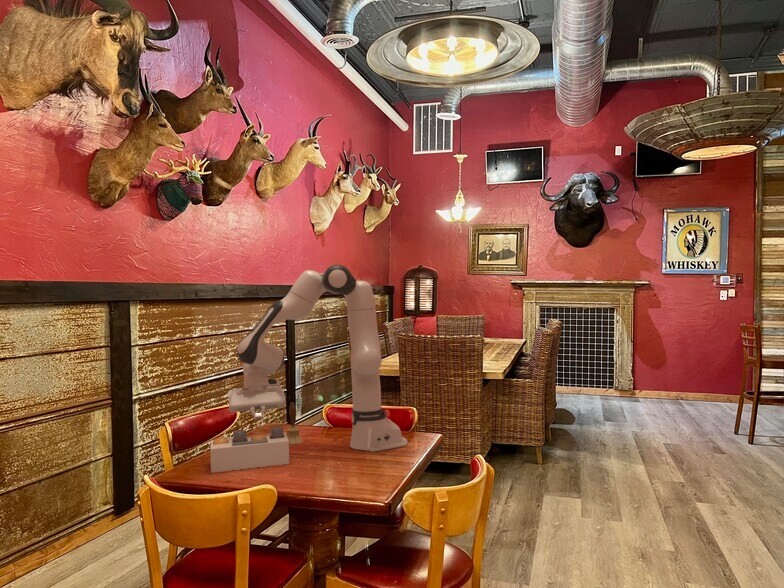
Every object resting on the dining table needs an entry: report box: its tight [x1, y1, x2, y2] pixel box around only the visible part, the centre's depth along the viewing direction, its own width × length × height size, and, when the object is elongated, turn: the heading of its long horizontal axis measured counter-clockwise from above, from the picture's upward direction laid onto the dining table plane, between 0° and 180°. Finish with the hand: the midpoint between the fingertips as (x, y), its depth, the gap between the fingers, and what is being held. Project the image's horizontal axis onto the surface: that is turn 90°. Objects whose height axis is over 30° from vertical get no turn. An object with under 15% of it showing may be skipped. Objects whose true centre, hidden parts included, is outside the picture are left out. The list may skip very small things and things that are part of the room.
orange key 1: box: [213, 437, 228, 445], centre depth 190 cm, size 4×4×6 cm
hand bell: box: [286, 402, 304, 446], centre depth 218 cm, size 8×8×16 cm
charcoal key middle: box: [232, 429, 247, 442], centre depth 192 cm, size 4×4×6 cm
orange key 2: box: [252, 433, 266, 440], centre depth 194 cm, size 4×4×6 cm
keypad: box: [209, 432, 290, 474], centre depth 191 cm, size 26×12×8 cm, turn 107°
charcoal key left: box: [270, 426, 284, 439], centre depth 196 cm, size 4×4×6 cm
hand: (258, 418), depth 194 cm, fingers closed
